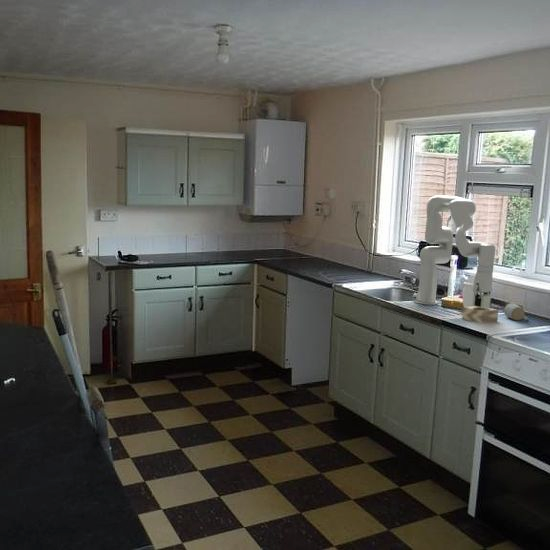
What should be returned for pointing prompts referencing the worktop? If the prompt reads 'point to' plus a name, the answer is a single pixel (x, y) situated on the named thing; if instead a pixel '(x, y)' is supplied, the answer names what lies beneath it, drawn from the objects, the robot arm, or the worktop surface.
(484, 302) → the sage tub
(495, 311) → the birch block
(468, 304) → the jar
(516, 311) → the ceramic mug
